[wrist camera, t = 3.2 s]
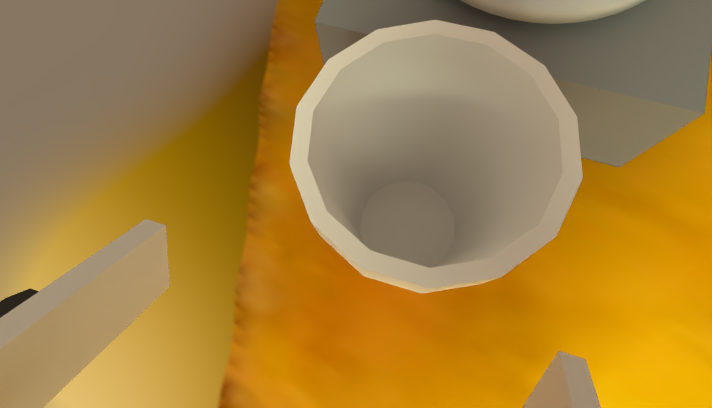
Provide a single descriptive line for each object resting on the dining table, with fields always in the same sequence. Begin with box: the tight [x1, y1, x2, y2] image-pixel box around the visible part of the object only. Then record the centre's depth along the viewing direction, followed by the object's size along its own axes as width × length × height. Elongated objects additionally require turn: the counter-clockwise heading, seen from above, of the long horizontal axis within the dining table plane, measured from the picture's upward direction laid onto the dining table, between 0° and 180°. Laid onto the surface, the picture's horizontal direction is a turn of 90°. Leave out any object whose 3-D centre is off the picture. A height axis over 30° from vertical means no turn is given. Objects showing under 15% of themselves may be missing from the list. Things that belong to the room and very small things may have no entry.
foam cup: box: [289, 20, 583, 294], centre depth 19 cm, size 10×9×13 cm
